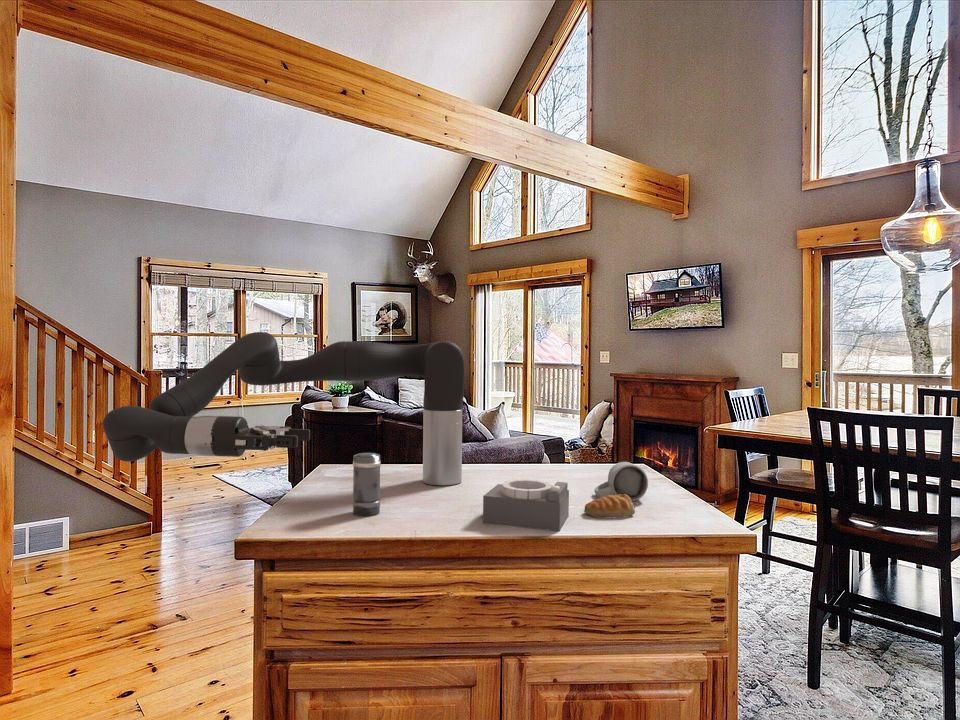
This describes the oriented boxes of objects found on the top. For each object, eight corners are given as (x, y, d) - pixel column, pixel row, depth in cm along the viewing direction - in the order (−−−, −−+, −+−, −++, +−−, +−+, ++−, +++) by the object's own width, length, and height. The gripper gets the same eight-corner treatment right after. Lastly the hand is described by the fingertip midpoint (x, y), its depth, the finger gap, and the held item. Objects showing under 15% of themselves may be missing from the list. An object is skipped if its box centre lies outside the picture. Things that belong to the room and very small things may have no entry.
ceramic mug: (639, 492, 134) (639, 458, 134) (648, 501, 126) (648, 465, 126) (591, 492, 134) (591, 458, 134) (597, 501, 126) (597, 465, 126)
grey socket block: (497, 509, 118) (498, 472, 118) (568, 516, 114) (569, 477, 114) (482, 523, 109) (483, 483, 109) (559, 531, 105) (560, 489, 105)
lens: (360, 508, 118) (361, 451, 118) (384, 510, 116) (385, 453, 116) (347, 515, 113) (347, 455, 113) (372, 517, 111) (372, 457, 111)
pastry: (595, 521, 112) (595, 501, 112) (577, 512, 118) (577, 493, 118) (637, 517, 115) (638, 497, 115) (617, 508, 121) (618, 489, 121)
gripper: (231, 449, 120) (313, 451, 120) (199, 462, 106) (292, 465, 106) (232, 412, 120) (314, 414, 120) (200, 420, 106) (293, 423, 106)
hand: (303, 438), depth 113 cm, fingers open, 8 cm apart
